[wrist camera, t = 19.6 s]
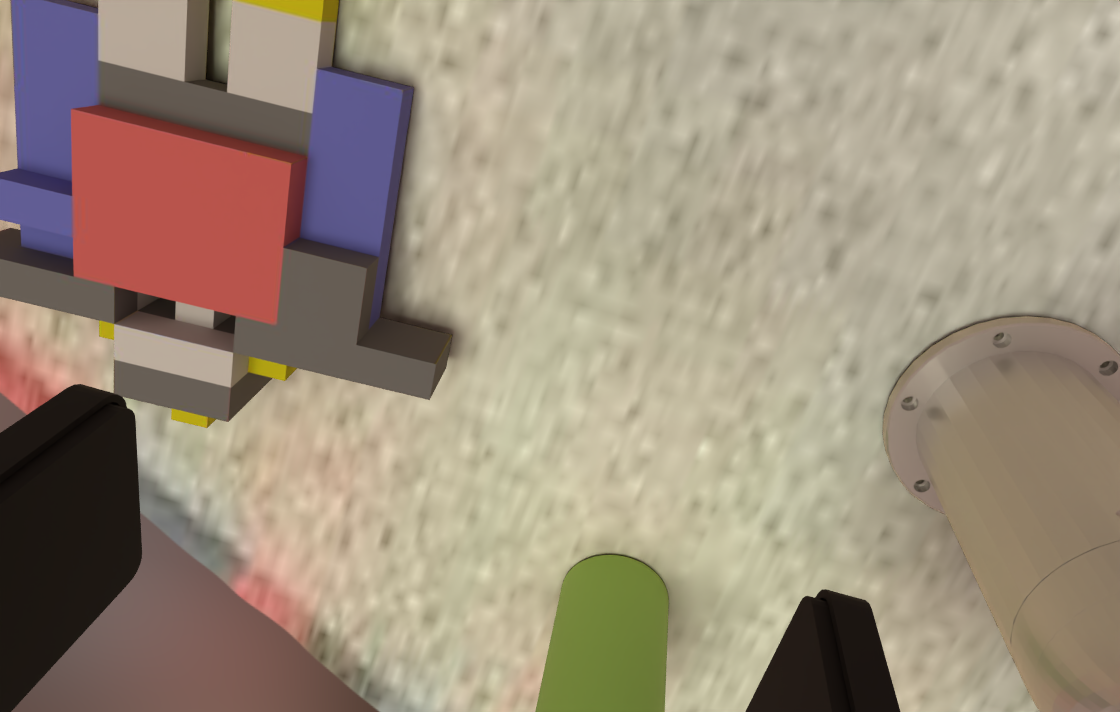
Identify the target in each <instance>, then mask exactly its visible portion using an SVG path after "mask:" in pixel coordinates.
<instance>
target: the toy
mask: <svg viewBox="0 0 1120 712" xmlns="http://www.w3.org/2000/svg"><path fill="white" fill-rule="evenodd" d="M338 5H339V0H232V16H231V33H230V50H229V67H228V84H227V85H226V84H222V83H218V82H214V81H210V80H206V60H207V40H208V19H209V0H98V8H95V7H91V6H87V5H83V4H79V3H75V2H71V1H67V0H11V23H12V46H13V69H14V91H15V114H16V137H17V159H18V169H14V170H9V171H5V172H0V220H4V221H8V222H12V223H16V224H20V228H21V230H18V229H13V228H9V229H6V230H2V231H0V297H4V298H8V299H13V300H17V301H21V302H25V303H29V304H33V305H37V306H42V307H46V308H50V309H54V310H58V311H62V312H67V313H71V314H75V315H79V316H83V317H87V318H91V319H96V320H99V336H100V337H104V338H108V339H112V340H114V394H118V395H120V396H122V397H126V398H130V399H134V400H138V401H143V402H147V403H151V404H155V405H159V406H164V407H168V408H172V415H171V419H172V420H176V421H180V422H184V423H188V424H193V425H197V426H201V427H205V428H208V427H209V426H210V425H211V424H212V423H213V422H214V421H215V420H216V419H218V420H222V421H227V422H229V421H230V420H231V419H232V418H233V417H234V416H235V415H236V414H237V413H238V412H239V411H240V410H241V409H242V408H243V407H244V406H245V405H246V404H247V403H248V402H249V401H250V400H251V399H252V398H253V397H254V396H255V395H256V394H257V393H258V392H259V391H260V390H261V389H262V388H263V387H264V386H265V385H266V384H267V383H268V382H269V381H270V380H271V379H272V378H275V379H279V380H283V381H285V380H286V379H287V378H288V377H289V376H290V375H291V374H292V373H293V372H294V371H295V370H296V369H297V368H299V369H303V370H307V371H312V372H316V373H320V374H324V375H328V376H332V377H336V378H341V379H345V380H349V381H353V382H357V383H361V384H366V385H370V386H374V387H378V388H382V389H386V390H390V391H395V392H399V393H403V394H407V395H411V396H415V397H420V398H424V399H428V400H430V398H431V396H432V394H433V392H434V390H435V388H436V386H437V384H438V382H439V381H440V379H441V377H442V375H443V373H444V371H445V369H446V365H447V360H448V355H449V349H450V344H451V339H452V335H450V334H446V333H442V332H437V331H433V330H429V329H425V328H421V327H417V326H413V325H409V324H404V323H400V322H396V321H392V320H388V319H384V318H380V311H381V304H382V297H383V291H384V284H385V277H386V271H387V264H388V257H389V251H390V244H391V237H392V231H393V224H394V217H395V211H396V204H397V197H398V191H399V184H400V177H401V170H402V164H403V157H404V150H405V144H406V137H407V130H408V124H409V117H410V110H411V104H412V97H413V90H414V87H410V86H406V85H402V84H398V83H394V82H390V81H386V80H382V79H378V78H374V77H370V76H366V75H362V74H358V73H354V72H350V71H346V70H342V69H338V68H334V67H332V60H333V51H334V42H335V32H336V23H337V14H338ZM158 297H160V298H158Z"/></svg>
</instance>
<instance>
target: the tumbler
mask: <svg viewBox="0 0 1120 712" xmlns="http://www.w3.org/2000/svg"><path fill="white" fill-rule="evenodd" d="M668 607H669V598H668V593H667V590H666V587H665V585H664V583H663V581H662V580H661V579H660V577H659V576H658V575H657V574H656V573H655V572H654V571H653V570H652V569H651V568H649V567H648V566H646V565H645V564H643V563H641V562H639V561H637V560H634V559H632V558H628V557H624V556H619V555H600V556H595V557H591V558H588V559H586V560H583V561H581V562H580V563H578V564H577V565H575V566H574V567H573V568H572V569H571V570H570V571H569V572H568V574H567V575H566V577H565V579H564V581H563V584H562V588H561V593H560V598H559V602H558V607H557V612H556V617H555V621H554V626H553V631H552V636H551V640H550V645H549V650H548V655H547V659H546V664H545V669H544V674H543V678H542V683H541V688H540V693H539V697H538V702H537V707H536V712H665V687H666V660H667V633H668Z"/></svg>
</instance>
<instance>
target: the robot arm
mask: <svg viewBox="0 0 1120 712" xmlns="http://www.w3.org/2000/svg"><path fill="white" fill-rule="evenodd" d="M999 333H1000V335H999V336H997V337H995V336H996V335H997V334H999ZM907 397H909V398H907ZM905 398H907V399H905ZM883 439H884V445H885V451H886V453H887V456H888V458H889V461H890V464H891V466H892V468H893V470H894V472H895V473H896V475H897V477H898V479H899V480H900V482H901V483H902V484H903V486H904V487H905V488H906V489H907V490H908V491H909V492H910V493H911V494H912V495H913V496H914V497H916V498H917V499H918V500H920V501H921V502H923V503H924V504H925V505H927V506H928V507H930V508H932V509H935V510H937V511H939V512H941V513H943V514H945V515H946V516H947V518H948V520H949V522H950V524H951V527H952V529H953V531H954V533H955V535H956V537H957V540H958V542H959V544H960V546H961V548H962V550H963V553H964V555H965V557H966V559H967V561H968V563H969V566H970V568H971V570H972V572H973V574H974V576H975V579H976V581H977V583H978V585H979V587H980V589H981V591H982V594H983V596H984V598H985V600H986V602H987V604H988V607H989V609H990V611H991V613H992V615H993V617H994V620H995V622H996V624H997V626H998V628H999V630H1000V633H1001V635H1002V637H1003V639H1004V641H1005V643H1006V646H1007V648H1008V650H1009V652H1010V654H1011V656H1012V659H1013V661H1014V663H1015V664H1016V667H1017V669H1018V671H1019V673H1020V676H1021V678H1022V680H1023V682H1024V684H1025V686H1026V688H1027V690H1028V693H1029V694H1030V696H1031V698H1032V699H1033V701H1034V703H1035V705H1036V706H1037V708H1038V709H1039V711H1040V712H1120V355H1119V354H1118V353H1117V352H1116V351H1115V350H1114V349H1113V348H1112V347H1111V346H1110V345H1108V344H1107V343H1106V342H1105V341H1103V340H1102V339H1101V338H1099V337H1098V336H1097V335H1096V334H1094V333H1092V332H1090V331H1088V330H1086V329H1084V328H1081V327H1079V326H1077V325H1075V324H1072V323H1068V322H1064V321H1060V320H1057V319H1053V318H1043V317H1031V316H1022V317H1010V318H1000V319H996V320H992V321H987V322H983V323H979V324H975V325H973V326H970V327H968V328H966V329H963V330H961V331H958V332H956V333H953V334H951V335H950V336H948V337H946V338H945V339H943V340H941V341H940V342H938V343H936V344H935V345H933V346H931V347H930V348H929V349H928V350H927V351H926V352H924V353H923V354H922V355H921V356H920V357H918V358H917V359H916V360H915V361H914V362H913V363H912V364H911V365H910V367H909V368H908V369H907V370H906V371H905V373H904V374H903V375H902V376H901V377H900V379H899V380H898V382H897V384H896V386H895V388H894V389H893V391H892V393H891V395H890V397H889V400H888V403H887V406H886V410H885V413H884V421H883ZM141 558H142V543H141V523H140V503H139V483H138V463H137V443H136V423H135V415H134V413H133V411H132V410H130V409H128V408H127V407H126V402H125V400H124V399H123V397H122V396H120V395H118V394H114V393H110V392H107V391H103V390H100V389H96V388H92V387H89V386H85V385H81V384H77V385H73V386H70V387H68V388H67V389H65V390H64V391H62V392H61V393H59V394H58V395H56V396H55V397H53V398H52V399H50V400H49V401H47V402H46V403H44V404H43V405H41V406H40V407H38V408H37V409H35V410H34V411H32V412H31V413H29V414H28V415H26V416H25V417H23V418H22V419H21V420H19V421H17V422H16V423H15V424H13V425H12V426H10V427H9V428H7V429H6V430H4V431H3V432H1V433H0V712H11V711H12V710H13V709H14V708H15V707H16V706H17V705H18V703H19V702H20V701H21V700H22V699H23V698H24V697H25V696H26V695H27V693H29V691H30V690H31V689H32V688H33V687H34V686H35V685H36V684H37V683H38V681H39V680H40V679H41V678H42V677H43V676H44V675H45V674H46V673H47V672H48V671H49V670H50V669H51V667H52V666H53V665H54V664H55V663H56V662H57V661H58V660H59V659H60V658H61V657H62V655H63V654H64V653H65V652H66V651H67V650H68V649H69V648H70V647H71V646H72V644H73V643H74V642H75V641H76V640H77V639H78V638H79V637H80V636H81V635H82V634H83V632H84V631H85V630H86V629H87V628H88V627H89V626H90V625H91V624H92V623H93V622H94V620H95V619H96V618H97V617H98V616H99V615H100V614H101V613H102V612H103V611H104V610H105V609H106V607H107V606H108V605H109V604H110V603H111V602H112V601H113V600H114V599H115V598H116V597H117V595H118V594H119V593H120V592H121V591H122V590H123V589H124V588H125V587H126V585H127V584H128V583H129V582H130V581H131V580H132V578H133V577H134V576H135V574H136V572H137V570H138V568H139V565H140V562H141ZM746 712H900V709H899V705H898V702H897V698H896V695H895V691H894V687H893V684H892V680H891V677H890V673H889V669H888V666H887V662H886V659H885V655H884V651H883V648H882V644H881V641H880V637H879V633H878V630H877V626H876V623H875V619H874V615H873V612H872V609H871V607H870V604H869V603H868V602H867V601H866V600H862V599H859V598H855V597H851V596H848V595H844V594H840V593H837V592H833V591H830V590H821V591H820V592H819V593H818V594H817V596H816V597H815V598H813V597H809V596H805V597H804V598H803V599H802V600H801V602H800V604H799V606H798V608H797V610H796V612H795V614H794V616H793V618H792V620H791V622H790V624H789V626H788V628H787V630H786V632H785V634H784V636H783V638H782V640H781V642H780V644H779V646H778V648H777V650H776V652H775V654H774V656H773V658H772V660H771V662H770V664H769V666H768V668H767V670H766V672H765V674H764V676H763V678H762V680H761V682H760V684H759V686H758V688H757V690H756V692H755V694H754V696H753V698H752V700H751V702H750V704H749V706H748V708H747V710H746Z"/></svg>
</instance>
